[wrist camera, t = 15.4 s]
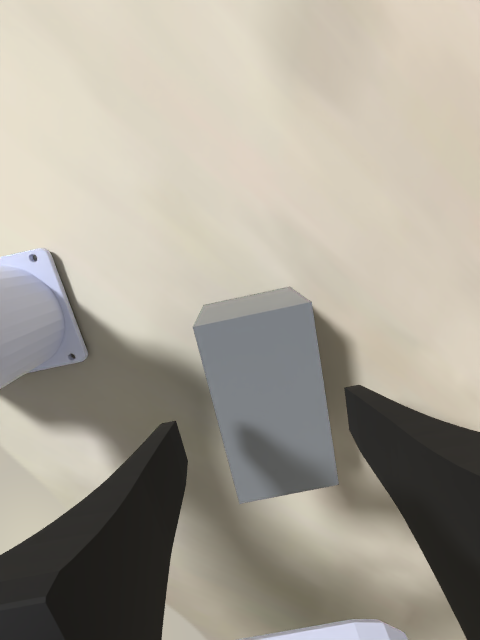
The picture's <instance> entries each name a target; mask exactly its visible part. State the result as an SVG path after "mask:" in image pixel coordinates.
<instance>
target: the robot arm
mask: <svg viewBox="0 0 480 640" xmlns="http://www.w3.org/2000/svg"><path fill="white" fill-rule="evenodd" d="M34 254H35V255H36V256H37V261H35V260H34V259H33V256H34ZM71 354H74V355H75V358H73V357H72V356H71ZM87 357H88V352H87V349H86V346H85V344H84V341H83V338H82V336H81V333H80V330H79V328H78V325H77V322H76V320H75V317H74V314H73V312H72V309H71V306H70V303H69V301H68V298H67V295H66V293H65V290H64V287H63V285H62V282H61V279H60V277H59V274H58V271H57V269H56V266H55V263H54V261H53V258H52V255H51V253H50V252H49V251H48V250H47V249H34V250H30V251H25V252H21V253H16V254H12V255H7V256H3V257H0V389H1V388H3V387H5V386H6V385H8V384H9V383H11V382H13V381H14V380H16V379H18V378H19V377H21V376H22V375H24V374H26V373H30V372H35V371H40V370H44V369H49V368H54V367H59V366H63V365H68V364H73V363H78V362H82V361H84V360H85V359H86V358H87ZM345 396H346V405H347V413H348V422H349V430H350V432H351V434H352V436H353V438H354V440H355V442H356V444H357V446H358V448H359V450H360V452H361V453H362V455H363V456H364V458H365V459H366V461H367V462H368V464H369V465H370V467H371V468H372V470H373V471H374V473H375V474H376V476H377V477H378V479H379V480H380V482H381V483H382V485H383V486H384V488H385V489H386V491H387V492H388V494H389V495H390V497H391V498H392V500H393V501H394V502H395V504H396V506H397V507H398V509H399V511H400V512H401V514H402V515H403V517H404V519H405V521H406V523H407V524H408V526H409V528H410V530H411V532H412V534H413V535H414V537H415V539H416V541H417V543H418V544H419V546H420V548H421V550H422V552H423V554H424V556H425V558H426V560H427V562H428V563H429V565H430V567H431V569H432V571H433V573H434V575H435V577H436V579H437V581H438V582H439V584H440V586H441V588H442V590H443V592H444V594H445V596H446V598H447V600H448V602H449V604H450V606H451V608H452V610H453V612H454V614H455V616H456V618H457V620H458V622H459V624H460V626H461V628H462V630H463V632H464V634H465V636H466V638H467V640H480V432H477V431H473V430H470V429H466V428H463V427H459V426H456V425H453V424H450V423H447V422H444V421H441V420H438V419H435V418H433V417H430V416H427V415H425V414H422V413H420V412H418V411H415V410H413V409H410V408H408V407H406V406H403V405H401V404H399V403H397V402H395V401H392V400H390V399H388V398H386V397H384V396H382V395H380V394H378V393H376V392H374V391H372V390H370V389H367V388H365V387H363V386H361V385H356V386H351V387H346V388H345ZM187 464H188V460H187V457H186V453H185V450H184V446H183V443H182V440H181V436H180V433H179V430H178V426H177V423H176V421H172V422H167V423H162V424H161V425H160V426H159V427H158V428H157V429H156V430H155V431H154V432H153V433H152V434H151V435H150V436H149V437H148V438H147V439H146V441H145V442H144V443H143V444H142V445H141V446H140V447H139V448H138V449H137V450H136V451H135V452H134V453H133V454H132V455H131V457H130V458H129V459H127V460H126V461H125V462H124V463H123V464H122V465H121V466H120V467H119V468H118V469H117V470H116V471H115V472H114V473H113V474H112V475H111V476H110V477H109V478H108V479H107V480H106V481H105V482H104V483H102V484H101V485H100V486H99V487H98V488H97V489H95V490H94V491H93V492H92V493H91V494H89V495H88V496H87V497H86V498H85V499H83V500H82V501H81V502H79V503H78V504H77V505H75V506H74V507H73V508H71V509H70V510H69V511H67V512H66V513H65V514H63V515H62V516H61V517H59V518H58V519H57V520H55V521H54V522H52V523H51V524H49V525H48V526H46V527H45V528H44V529H42V530H41V531H39V532H38V533H36V534H34V535H33V536H31V537H30V538H28V539H26V540H25V541H23V542H22V543H20V544H19V545H17V546H15V547H14V548H12V549H10V550H9V551H7V552H5V553H3V554H2V555H0V640H161V637H162V627H163V617H164V608H165V599H166V590H167V582H168V574H169V566H170V558H171V552H172V547H173V542H174V537H175V533H176V528H177V523H178V519H179V514H180V510H181V505H182V500H183V496H184V491H185V486H186V477H187ZM237 640H408V638H407V636H406V634H405V633H404V632H402V631H401V630H399V629H397V628H395V627H393V626H391V625H389V624H387V623H385V622H382V621H380V620H378V619H350V620H344V621H339V622H333V623H327V624H322V625H316V626H310V627H305V628H299V629H294V630H288V631H282V632H277V633H271V634H265V635H260V636H254V637H249V638H243V639H237Z"/></svg>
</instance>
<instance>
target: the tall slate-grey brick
mask: <svg viewBox="0 0 480 640" xmlns="http://www.w3.org/2000/svg"><path fill="white" fill-rule="evenodd" d="M193 330H194V333H195V337H196V341H197V345H198V349H199V352H200V356H201V360H202V364H203V367H204V371H205V375H206V379H207V383H208V386H209V390H210V394H211V398H212V401H213V405H214V409H215V413H216V417H217V420H218V424H219V428H220V432H221V436H222V439H223V443H224V447H225V451H226V454H227V458H228V462H229V466H230V470H231V473H232V477H233V481H234V485H235V488H236V492H237V496H238V500H239V504H241V503H246V502H252V501H257V500H262V499H267V498H272V497H277V496H283V495H288V494H293V493H298V492H303V491H308V490H314V489H319V488H324V487H329V486H334V485H339V482H338V475H337V469H336V462H335V455H334V449H333V442H332V435H331V429H330V422H329V415H328V408H327V402H326V395H325V388H324V382H323V375H322V368H321V361H320V355H319V348H318V341H317V335H316V328H315V321H314V314H313V308H312V302H311V301H310V300H308V299H307V298H305V297H304V296H302V295H301V294H300V293H298V292H297V291H295V290H294V289H292V288H291V287H287V288H282V289H277V290H273V291H268V292H263V293H258V294H254V295H249V296H244V297H240V298H235V299H230V300H226V301H221V302H216V303H212V304H207V305H203V307H202V309H201V311H200V313H199V315H198V317H197V320H196V322H195V324H194V326H193Z"/></svg>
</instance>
